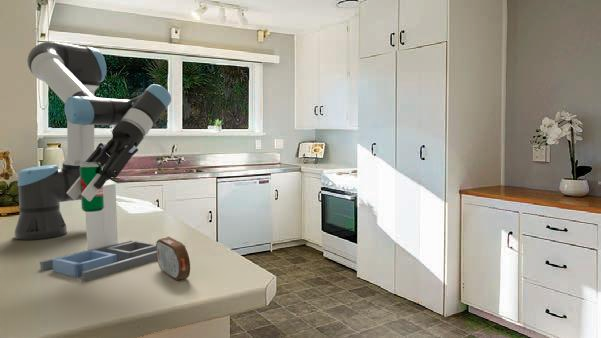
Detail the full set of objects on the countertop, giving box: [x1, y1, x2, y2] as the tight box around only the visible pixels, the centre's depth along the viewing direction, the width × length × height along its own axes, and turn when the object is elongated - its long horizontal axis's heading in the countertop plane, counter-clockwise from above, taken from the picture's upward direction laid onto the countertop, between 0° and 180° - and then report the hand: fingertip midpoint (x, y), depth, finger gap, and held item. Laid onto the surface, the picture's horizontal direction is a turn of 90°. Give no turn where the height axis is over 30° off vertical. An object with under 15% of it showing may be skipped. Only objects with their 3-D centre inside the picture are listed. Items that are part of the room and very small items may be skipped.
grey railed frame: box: [39, 239, 157, 282], centre depth 114 cm, size 18×26×3 cm
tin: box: [155, 236, 191, 281], centre depth 102 cm, size 15×3×8 cm, turn 38°
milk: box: [85, 179, 119, 251], centre depth 128 cm, size 6×6×22 cm
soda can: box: [80, 162, 104, 213], centre depth 108 cm, size 5×5×12 cm
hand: (78, 197), depth 105 cm, fingers closed on soda can, 5 cm apart
